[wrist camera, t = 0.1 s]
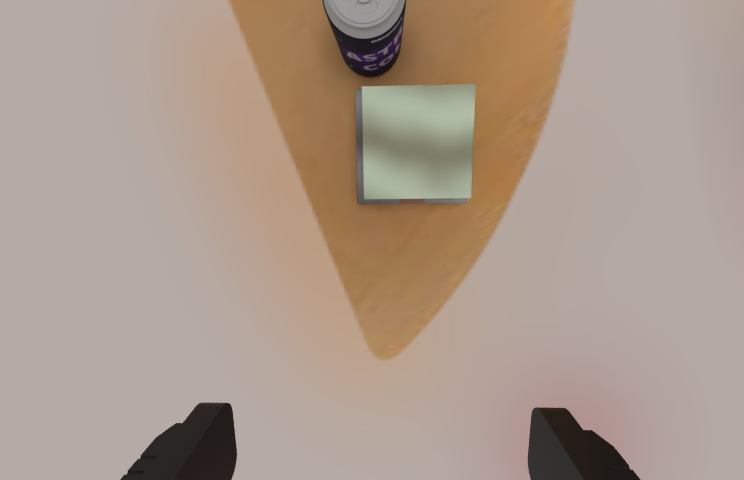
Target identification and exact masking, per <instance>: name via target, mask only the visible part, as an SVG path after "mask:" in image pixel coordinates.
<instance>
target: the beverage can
mask: <svg viewBox="0 0 744 480" xmlns="http://www.w3.org/2000/svg"><path fill="white" fill-rule="evenodd" d="M323 5H324V9H325V12H326V15H327V17H328V20H329V23H330V25H331V28H332V30H333V33H334V35H335V38H336V41H337V43H338V46H339V48H340V51H341V53H342V56H343V58H344V60H345V62H346V64H347V65H348V66H349V67H350V68H351V69H352V70H353V71H355V72H356V73H358V74H360V75H364V76H377V75H380V74H382V73H384V72H386V71H387V70H389V69H390V68H391V67H392V66H393V64H394V63H395V62H396V60H397V58H398V55H399V52H400V47H401V39H402V31H403V23H404V15H405V6H406V0H323Z"/></svg>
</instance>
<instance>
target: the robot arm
mask: <svg viewBox="0 0 744 480" xmlns="http://www.w3.org/2000/svg"><path fill="white" fill-rule="evenodd" d="M236 458H237V449H236V441H235V430H234V421H233V411H232V407H231V405H230V404H229V403H199V404H198V405H197V406H196V407H195V408H194V410H193V411H192V412H191V413H190V415H189V416H188V417H187V419H186V420H185V421H184V422H183V423H176V424H174V425H173V426H172V427H170V428H169V429H167V430H166V431H165V432H163V433H162V434H160V435H159V436H158V437H156V438H155V440H154V441H153V442H152V443H151V444H150V445H149V446H148V448H147V449H146V450H145V451H144V452H143V454H142V455H141V458H140V459H138V460H137V461H136V462H135V463H134V464H133V465H132V467H131V468H130V469H129V470H128V473H127V475H124V476H123V477H122V478H121V480H231V479H232V476H233V473H234V470H235V465H236ZM528 468H529V474H530V478H531V480H640V479H639V477H638V476H637V475H636V474H635V473H634V471H633V470H630V468H629V465H628V464H627V463H626V462H625V460H624V459H623V458H622V456H621V455H620V454H619V453H618V452H617V450H616V449H615V448H614V447H613V446H612V445H611V444H609V443H608V442H607V441H605V440H604V439H603V438H601V437H600V436H599V435H597V434H596V433H595V432H593V431H592V430H583V429H582V428H581V427H580V425H579V424H578V423H577V421H576V420H575V419H574V417H573V416H572V415H571V413H570V412H569V411H568V410H567V409H566V408H534V409H533V411H532V416H531V426H530V438H529V450H528Z"/></svg>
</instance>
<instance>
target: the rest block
mask: <svg viewBox="0 0 744 480" xmlns="http://www.w3.org/2000/svg"><path fill="white" fill-rule="evenodd" d="M475 86H476V84H446V85H403V86H362V89H355V94H356V140H357V185H358V204H406V203H467V198H471V184H472V160H473V135H474V111H475Z"/></svg>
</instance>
